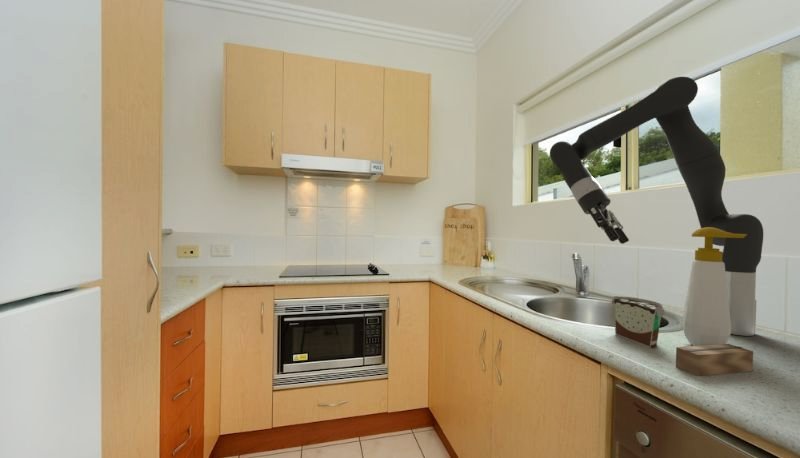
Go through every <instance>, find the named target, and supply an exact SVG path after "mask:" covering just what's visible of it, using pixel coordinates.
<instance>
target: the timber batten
mask: <svg viewBox="0 0 800 458" xmlns="http://www.w3.org/2000/svg"><path fill="white" fill-rule="evenodd" d="M675 349H676V350H675V368H678V369H681V370H683V371H685V372H687V373H691V374H693V375H695V376H697V377H699V376H700V377H701V376H712V375H721V374H722V375H723V374H735V373H744V372H746V373H747V372H753V371H754V368H753V366H754V351H753V350H750V349H747V348H744V347H742V346H737V345H734V344H730V343H726V344H718V345H702V346H693V345H691V346H688V345H687V346H677V347H676V348H675Z"/></svg>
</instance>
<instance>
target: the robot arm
mask: <svg viewBox="0 0 800 458" xmlns="http://www.w3.org/2000/svg"><path fill="white" fill-rule="evenodd" d="M698 91H699V87H698V83H697V81H696V80H694V79H693V78H691V77H688V76H675V77H673V78H670V79H667V80H666V81H664V82H663V83H661V84H659V85H658V86H657V87H656V88H655V89H654V90H653V91H652V92H651V93H650V94H648V95H646V97H644V98H643V99H641V100H640V101H638V102H636V103H635V104H633V105H631V106H629V107H628V108H626V109H624V110H622V111H620V112H618V113H617V114H615V115H612V116H611V117H608V118H606V119H605V120H602V121H601V122H599V123H598V124H596V125H594V126H592V127H590V128H588V129H587V130H585V131H583V132H581V133H580V134H579V135H578V137H577V140H576V141H575V142H574V143H570V142H568V141H563V140H561V141H557V142H555V143H554V144H553V145H552V146H551V147H550V149H549V150H550V151H549V156H550V160H551V162H552V165H553V166H554V168H556V169H557V170H559V171H560V173H561V174H562V177H563V179H564V182H565V183H566V185H567V187H568V188H569V190H570V191H571V193H572V195H573V198H574V199H575V201H576V202H577V203H578V205H579V207H580V208H581V210H582V211H583V213H584V214H585V215H590V216H591V218H592V219H593V220H594V222H595V224H596V226H597V227H598V229H599V228H600V229H601V230H602V231H603V232H604V233H605V234H606V236H607V238H608V239H609V241H610V242H616V241H617V240H618V242H619V243H620V244H622V245H624V244H625V243H628V242H629V241H630V239H629V238H628V236H627V235H626V233H625V231H624V230H623V229H624V226H623V225H622V224H621V223H620V221H619V220H618V218H617V217H616V215H615V214H614V212H613V211H612V210H609V209H608V208H607V206H609V205H610V204H611V201H612V200H611V198H609V196H608V195H607V193H606V192H605V190H604V189H603V187H602V186H601V185H600V183H599V182H598V181H597V180H596V178H594V177H593V175H592V174H591V172H590V171H589V169H588V168H587V167H586V166H585V164H584V163H583V162H582V160H583V161H584V159H586V158H587V157H588V156H589V155H590V154H592V153H594V152H595V151H597V150H599V149H601V148H603V147H606V146H607V145H609V144H611V143H612V142H614V141H616V140H618V139H619V138H621V137H623V136H624V135H627V133H629V132H631V131H633V130H634V129H636V128H638V127H640V126H642V125H643V124H645V123H647V122H649V121H651V120H653V119H655V121H656V122H657V123H658V125H659V126H660V128H661V129H662V132H663V133H664V135H665V138H666V141H667V144H668V146H669V148H670V151H671V154H672V156H673V158H674V161H675V164H676V167H677V169H678V171H679V173H680V175H681V178H682V180H683V181H684V183H685V186H686V188H687V191H688V193H689V195H690V198H691V201H692V203H693V206H694V209H695V212H696V215H697V218H698V223H699V226H700V227H699V228H700V229H701V228H705V227H713V228H717V229H720V230H723V231H725V232H729V233H733V234H747V235H746V236H745V237H744V238H723V237H713V246H714V245H715V246H719V247H723V250H722V262H724V264H725V273H726V283H727V292H728V302H729V311H730V321H731V334H730V335H735V336H746V337H751V336H752V337H753V336H754V335H755V334H756V328H757V327H756V326H757V323H756V322H757V299H756V283H757V282H756V281H757V279H756V278H757V267H758V266H759V264H760V262H761V260H762V254H763V253H762V251H763V244H764V243H763V242H764V227H763V224H762V222H761V220H760V219H759V218H757V217H756V216H755V215H751V214H746V213H735V214H734V213H733V214H730V213H729V212H728V210H727V207H726V206H725V204H724V200H723V197H722V191H723V186H724V184H725V183H724V182H725V179H726V165H725V161H724V160H723V158H722V155H721V153H720V151H719V148H718V147H717V145H716V144H715V142H713V140H712V139H711V138H710V137H709V136H708V135H707V134H706V133H705V132H704V131H703V130H702V129H701V128H700V127H699V125H697V123H696V122H695V120H694V118H693V116H692V112H691V110H690V107H689V105H691V104H692V102H693V101H694V100H695V98H696V96H697V95H698Z"/></svg>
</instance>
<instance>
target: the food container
mask: <svg viewBox="0 0 800 458" xmlns="http://www.w3.org/2000/svg"><path fill="white" fill-rule="evenodd" d="M611 304H612V305H613V316H614V317H613V318H614V332H615V333H614V334H615V335H616V336H618V337H621V338H623V339H626V340H629V341H632V342H634V343H637V344H639V345H642V346H644V345H645V346H644V347H646V348H649V349H653V348H656V347H657V344H658V338H659V333H660V326H661V321H662V320H661V319H662V317H663V316H665V315H666V312H665V308H664V306H663V304H661V302H657V301H654V300H650V299H649V300H648V299H644V298H639V297H632V296H631V297H630V296H621V295H619V296H618V295H615V296H613V297H612V300H611Z"/></svg>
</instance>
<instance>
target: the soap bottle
mask: <svg viewBox="0 0 800 458" xmlns="http://www.w3.org/2000/svg"><path fill="white" fill-rule="evenodd" d="M746 235H747V234H733V233H729V232H725V231H723V230H720V229H717V228H713V227H705V228H701V227H700V228H698V229H696V230H695V231H693V233H691V237H695V238H696V237H697V238H698V237H699V238H704V246H703V247H698V248H697V249H695V250H694V259H692V264H691V269H690V274H689V278H688V279H689V280H688V286H687V291H686V296H685V302H684V307H683V313H682V324H681V325H682V326H681V327H682V330H683V334H684V337H685V338H686V340H687V341H688V343H689V344H690V345H691V346H702V345H718V344H728V341H729V338H730V337H731V335H732V334H731V321H730V311H729V302H728V292H727V283H726V273H725V264H724V262H722V253H723V250H722V251H721V250H720V248H716V247H715V248H714V244H713V237H723V238H744V237H745V236H746Z"/></svg>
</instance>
